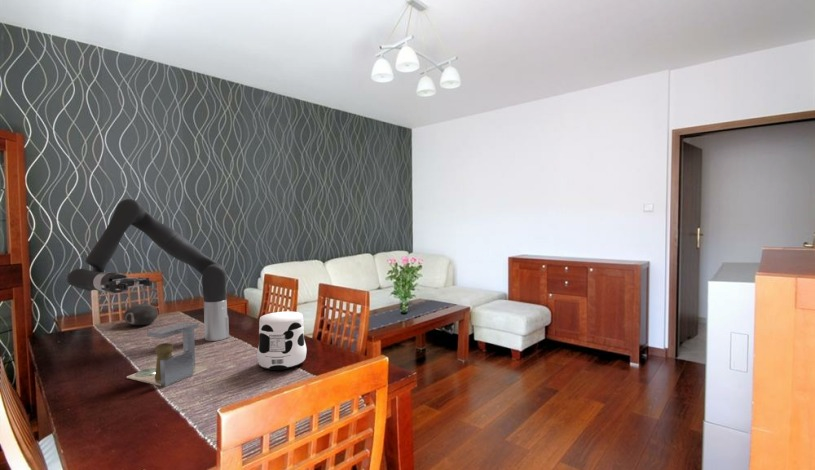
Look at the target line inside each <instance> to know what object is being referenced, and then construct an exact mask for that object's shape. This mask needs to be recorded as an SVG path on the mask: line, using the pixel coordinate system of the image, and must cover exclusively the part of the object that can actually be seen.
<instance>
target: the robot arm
mask: <svg viewBox="0 0 815 470" xmlns="http://www.w3.org/2000/svg"><path fill="white" fill-rule="evenodd" d="M130 226H132V227H135V228H136V229H138V230H139V231H140V232H143V233H144V234H145V235H146V236H147V237H148V238H149V239H150V240H151V241H152V242H153V243H154V244H156V245H157V247H159V248H160V249H161V250H162V251H164V252H165V253H166V254H168V255H170V256H171V257H173V258H174V259H175V260H178V261H179V262H182V263H184V264H187V265H188V266H190V267H192V268H194V269H195V270H196V271H197V272H199V274H200V275H202V276H201V284H202V296H203V313H204V314H203V315H204V318H203V319H204V340H205V341H206V342H216V341H217V342H218V341H222V340H225V339H228V338H230V331H229V330H230V328H229V327H230V326H229V325H230V323H229V322H230V321H229V315H228V303H227V301H228V300H227V299H228V298H227V296H228V295H227V288H226V285H227V284H226V278H227V274H228V273H227V270H226V269H227V268H225V267H224V266H223V265H222V264H220V263H219V262H217V261H215V260H214V259H212V258H210V257H209V256H207V255H206V254H204V253H203V252H202V251H201V250H200V249H199V248H198V247H197V246H196V245H195V244H193V243H192V242H190V241H189V240H188V239H187V238H186V237H184V236H183V235H182V234H181V233H179V232H178V231H177V230H174V228H172V227H170V226H168V225H166V224H164V223H163V222H161V221H159V220H158V219H156V218H155V216H153V215H152V214H151V213H150V212H148V211H147V210H146V209H145V207H144V206H143V205H142V204H141V203H140V202H139V201H137V200H135V199H133V198H126V199H122V200H121V201H120V202H119V203H117V206H116V208H115V209H114V213H113V214H112V217H111V219H110V221H109V223H108V225H107V227H106V228H105V230H104V232H103V233H102V235H101V236H100V237H99V239H98V241H97V242H96V243H95V245H94V246H93V247H92V249H91V250H90V252H89V254H88V255H87V257H86V258H85V263H86V264H87V265H89V266H91V267H92V270H89V269H85V268H75V269H73V270H72V271H70V272H69V273H68V275H67V276H66V282H67V283H68V285H69V286H71V287H74V288H76V289H81V290H84V291H87V292H92V291H100V292H103V293H104V292H105V293H111V294H112V293H114V294H119V293H122V292H124V291H127V290H129V289H130V288H139V287H140V286H142V287H143V286H144V287H151V286H153V285H152V284H153V282H152V280H151V279H150V277H142V276H141V277H140V276H138V277H129V276H127V275H126V274H124V273H122V272H114V271H113V272H112V271H105V270H106V268H107V265H108V263H109V262H111V261H110V260H111V259H112V257H113V256H114V254H115V252H116V250H117V249H118V247H119V244H120V242H121V241H122V238H123V236H124V235H125V233H126V231H127V230H128V229H129V227H130Z"/></svg>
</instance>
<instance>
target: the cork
mask: <svg viewBox="0 0 815 470" xmlns="http://www.w3.org/2000/svg"><path fill="white" fill-rule="evenodd" d="M154 350H155V355H156V357H157V358H156V365H155V366H156V372H155V379H156V380H161V371H160V360H162V359H165V358H168V357H170V356H173V354H172V353H173V351H174V346H173V343H168V342H166V343H165V342H164V343H160V344H158V345H157V346H156V347H155V348H154Z"/></svg>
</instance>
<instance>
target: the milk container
mask: <svg viewBox="0 0 815 470" xmlns="http://www.w3.org/2000/svg"><path fill="white" fill-rule="evenodd" d="M304 322H305V321H304V315H303V313H301V312H298V311H278V312H270V313H266V314H264V315H262V316H260V317H259V323H258V325H259V329H258V336H259V339H258V341H259V343H258V347H257V351H256V358H257V363H258V365H259V366H260V367H261V368H263V369H266V370H270V371H280V370H281V371H283V370H287V369H292V368H295V367H297V366H299V365H301V364H302V363H304V361H305V360H306V358H307V349H308V348H307V344H306V341H305V334H304V331H305V329H304V326H305V325H304Z"/></svg>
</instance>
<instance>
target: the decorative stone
mask: <svg viewBox="0 0 815 470" xmlns="http://www.w3.org/2000/svg"><path fill="white" fill-rule="evenodd" d="M158 315H159V311H158V309H157V308H156V307H155V306H154V305H152V304H148V303H140V304H136V305H132V306H130V307H128V308H127V309H126V310H125V312H124V315H123V319H124V321H125V322H126V323H127V324H129V325H132V326H137V327H138V326H146V325H150V324H152V323H153V322H154V321H155V320H156V319H157V318H158Z"/></svg>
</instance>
